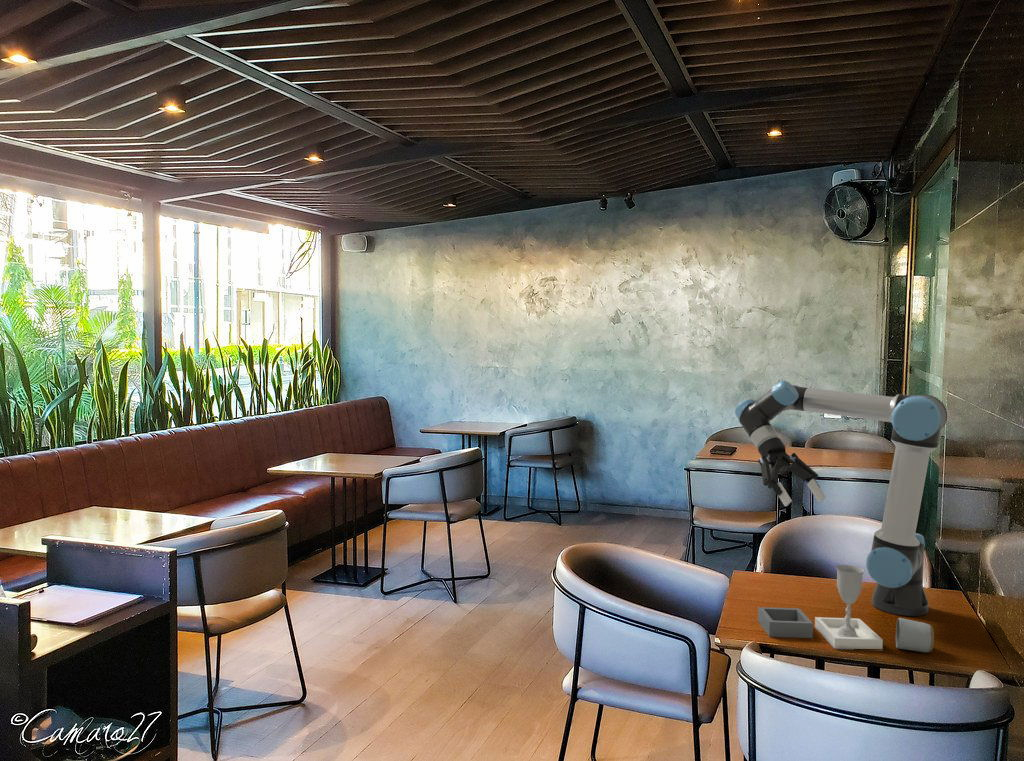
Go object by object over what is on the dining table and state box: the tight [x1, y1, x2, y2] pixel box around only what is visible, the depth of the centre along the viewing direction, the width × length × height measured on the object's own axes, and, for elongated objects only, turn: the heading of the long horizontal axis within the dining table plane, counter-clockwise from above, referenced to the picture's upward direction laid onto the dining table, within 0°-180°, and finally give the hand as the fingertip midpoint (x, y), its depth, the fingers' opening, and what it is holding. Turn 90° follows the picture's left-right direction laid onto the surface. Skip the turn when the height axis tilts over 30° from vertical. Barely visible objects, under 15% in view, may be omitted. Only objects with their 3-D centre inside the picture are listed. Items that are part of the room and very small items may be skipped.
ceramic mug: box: [895, 617, 935, 653], centre depth 197 cm, size 11×8×8 cm
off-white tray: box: [814, 616, 884, 650], centre depth 203 cm, size 12×15×3 cm
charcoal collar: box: [757, 606, 814, 639], centre depth 209 cm, size 11×11×4 cm
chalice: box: [835, 564, 865, 637], centre depth 202 cm, size 7×7×18 cm
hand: (805, 501), depth 221 cm, fingers open, 13 cm apart
